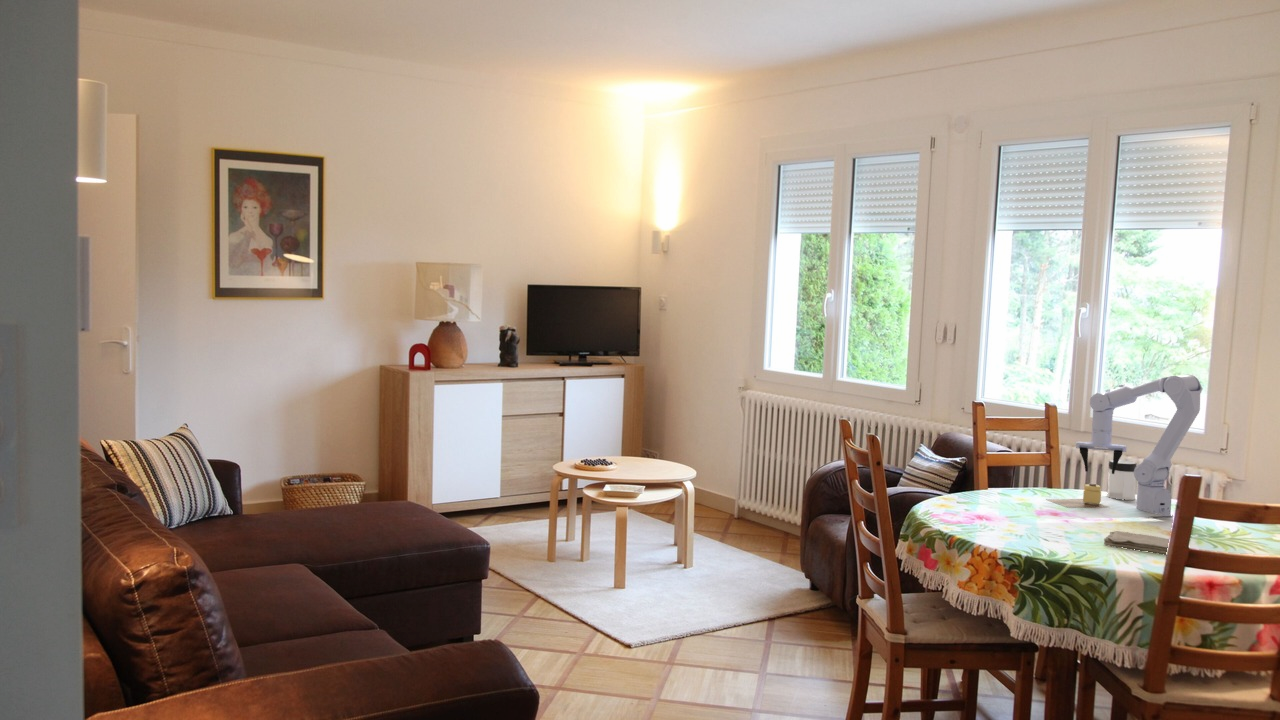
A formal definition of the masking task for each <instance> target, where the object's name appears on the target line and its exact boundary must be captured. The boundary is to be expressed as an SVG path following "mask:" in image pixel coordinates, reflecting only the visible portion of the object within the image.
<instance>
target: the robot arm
mask: <svg viewBox="0 0 1280 720" xmlns="http://www.w3.org/2000/svg"><path fill="white" fill-rule="evenodd" d="M1202 391H1203V387H1202V384H1201V382H1200V380H1199V378H1198V377H1197V376H1195V375H1193V374H1184V375H1169V376H1165V377H1160V378H1156V379H1153V380H1150V381H1147V382H1144V383H1143V384H1139V385H1136V386H1131V385H1129V384H1127V385H1126V384H1123V383H1122V384H1120V385H1119V384H1118V387H1117V388H1114V389H1110V388H1109V389H1106V390H1105V392H1103V393H1101V392H1096V393H1095V394H1092V395H1091V397H1090V399H1089V405H1090V408H1091V409H1092V421H1091V422H1092V424H1091V425H1092V426H1091V440H1090V441H1091V442H1090V441H1076V442H1075V448H1076V449H1079V453H1080V455H1081V458H1082V461H1083V464H1084V469H1085V472H1086V473H1088V470H1089V463H1088V460H1089V459H1088V458H1089V450H1097V451H1098V450H1099V451H1100V450H1101V451H1109V452H1113V455H1112V456H1113V459H1112V460H1113V467H1112V474H1114V472H1115V468H1116V465H1117V463H1118V461H1119V460H1121V457H1122V455H1123V453H1127V445H1125V444H1124V445H1123V444H1117V443H1115V444H1114V443H1112V434H1113V415H1114V410H1115V409H1116V408H1120V407H1124V406H1127V405H1130V404H1133V403H1136V401H1137V399H1138V398H1139V397H1142V396H1146V395H1149V394H1153V393H1158V392H1161V393H1165V394H1166V395H1167V396H1168V398H1170V400H1171V401H1172V402H1173V404H1174V405H1175V407H1176V411H1175V413H1174V414H1173V416H1172V418H1171V420H1170V421H1169V423H1168V424H1167V426H1166V428H1165V430H1164V431H1163V433H1162V435H1161V437H1160V438H1159V440H1158V442H1157V444H1156V445H1155V447H1154V448H1153V450H1152V452H1150V453H1149V454H1147V456H1146V457H1145V458H1144V459H1143V460H1142V462H1141V463H1139V464H1137V465H1136V467H1135V469H1134V477H1135V479H1136V482H1137V488H1136V489H1137V492H1136V509H1137V510H1139V511H1144V512H1147V513H1151V514H1154V515H1155V514H1156V515H1158V516H1161V517H1173V516H1174V515H1173V514H1172V511H1171V510H1172V494H1171V492H1170V490H1169V489H1168V488H1166V487H1165V485H1166V484H1165V481H1166V480H1168V478H1169V476H1170V469H1171V467H1172V465H1173V463H1172V461H1171V459H1172V458H1173V456H1174V455H1175V453H1176V451H1177V450H1178V448H1179V446H1180V444H1181V443H1182V441H1183V440H1184V437H1185V436H1186V435H1187V433H1188V432H1189V429H1190V428H1191V426H1192V425H1193V423H1194V422H1195V420H1196V418H1197V416H1198V415H1199V413H1200V410H1201V393H1202ZM1171 514H1172V516H1171Z"/></svg>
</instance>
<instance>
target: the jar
mask: <svg viewBox="0 0 1280 720" xmlns="http://www.w3.org/2000/svg"><path fill="white" fill-rule="evenodd" d="M1137 465H1138V464H1137V462H1135V461H1131V460H1125V459H1119V461H1118V463H1117V465H1116V468H1115V472H1114V474H1112V467H1113V459H1110V460H1109V461H1108V470H1107V472H1108V473H1107V489H1106V491H1107V493H1108V494H1107V493H1106V495H1107V497H1108V498H1109V497H1111V498H1110V499H1113V498H1117V499H1116V500H1119V499H1125V500H1124V501H1135V500H1136V489H1137V488H1136V487H1137V480H1136V479H1135V477H1134V469H1135V467H1136V466H1137Z"/></svg>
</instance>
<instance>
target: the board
mask: <svg viewBox="0 0 1280 720" xmlns="http://www.w3.org/2000/svg"><path fill="white" fill-rule="evenodd" d="M1045 500H1046V501H1049V502H1050V503H1053V504H1057V505H1058V506H1060V507H1061V506H1062V507H1065V508H1068V509H1083V508H1085V509H1087V508H1088V509H1089V508H1091V509H1093V508H1109V506H1107V505H1104V504H1101V503H1100V504H1099V505H1097V506H1094V505H1087V504H1085V502H1083V498H1068V499H1067V498H1063V499H1062V498H1060V499H1059V498H1058V499H1057V498H1056V499H1055V498H1054V499H1048V498H1047V499H1045Z"/></svg>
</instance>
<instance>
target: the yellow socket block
mask: <svg viewBox="0 0 1280 720" xmlns="http://www.w3.org/2000/svg"><path fill="white" fill-rule="evenodd" d="M1083 489H1084V490H1083V497H1082V499H1083V502H1088V503H1096V504H1101V502H1102V487H1101V485H1098V484H1097V483H1095V482H1090V483H1088V484H1084V488H1083Z"/></svg>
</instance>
